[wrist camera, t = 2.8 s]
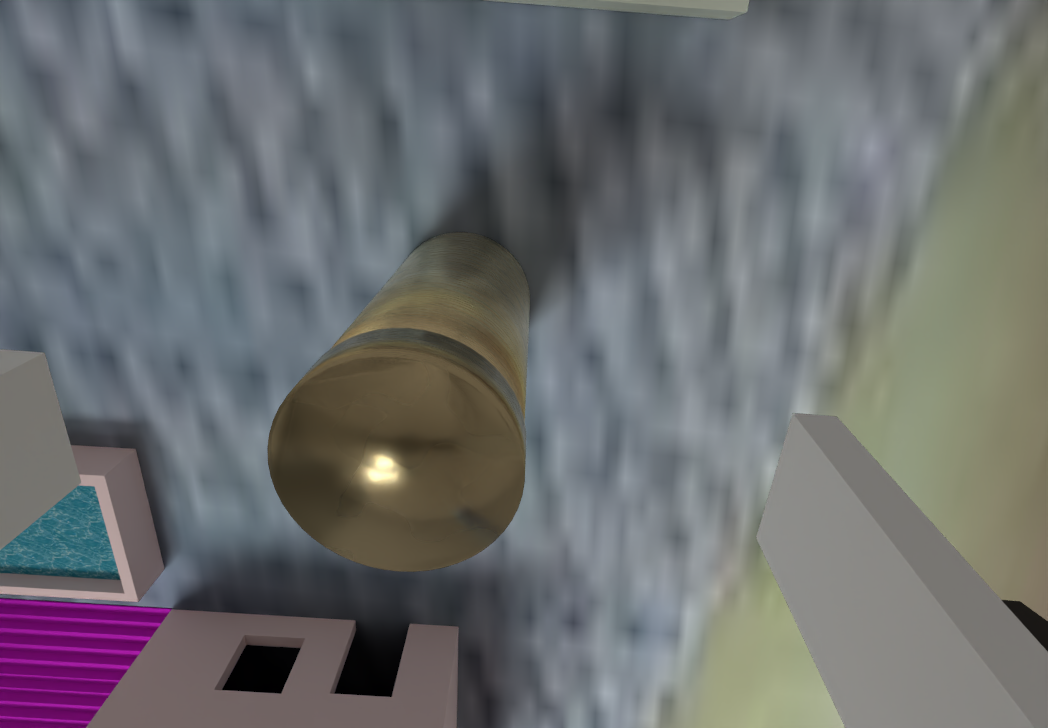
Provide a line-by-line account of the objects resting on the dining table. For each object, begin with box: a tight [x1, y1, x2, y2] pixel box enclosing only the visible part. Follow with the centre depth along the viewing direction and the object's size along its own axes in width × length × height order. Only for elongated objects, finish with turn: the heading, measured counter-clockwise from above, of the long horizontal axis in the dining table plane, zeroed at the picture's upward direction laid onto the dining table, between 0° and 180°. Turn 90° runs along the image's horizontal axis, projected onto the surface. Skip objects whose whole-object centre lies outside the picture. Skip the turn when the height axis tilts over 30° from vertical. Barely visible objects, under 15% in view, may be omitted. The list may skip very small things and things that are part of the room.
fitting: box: [268, 232, 530, 572], centre depth 15 cm, size 4×4×10 cm
